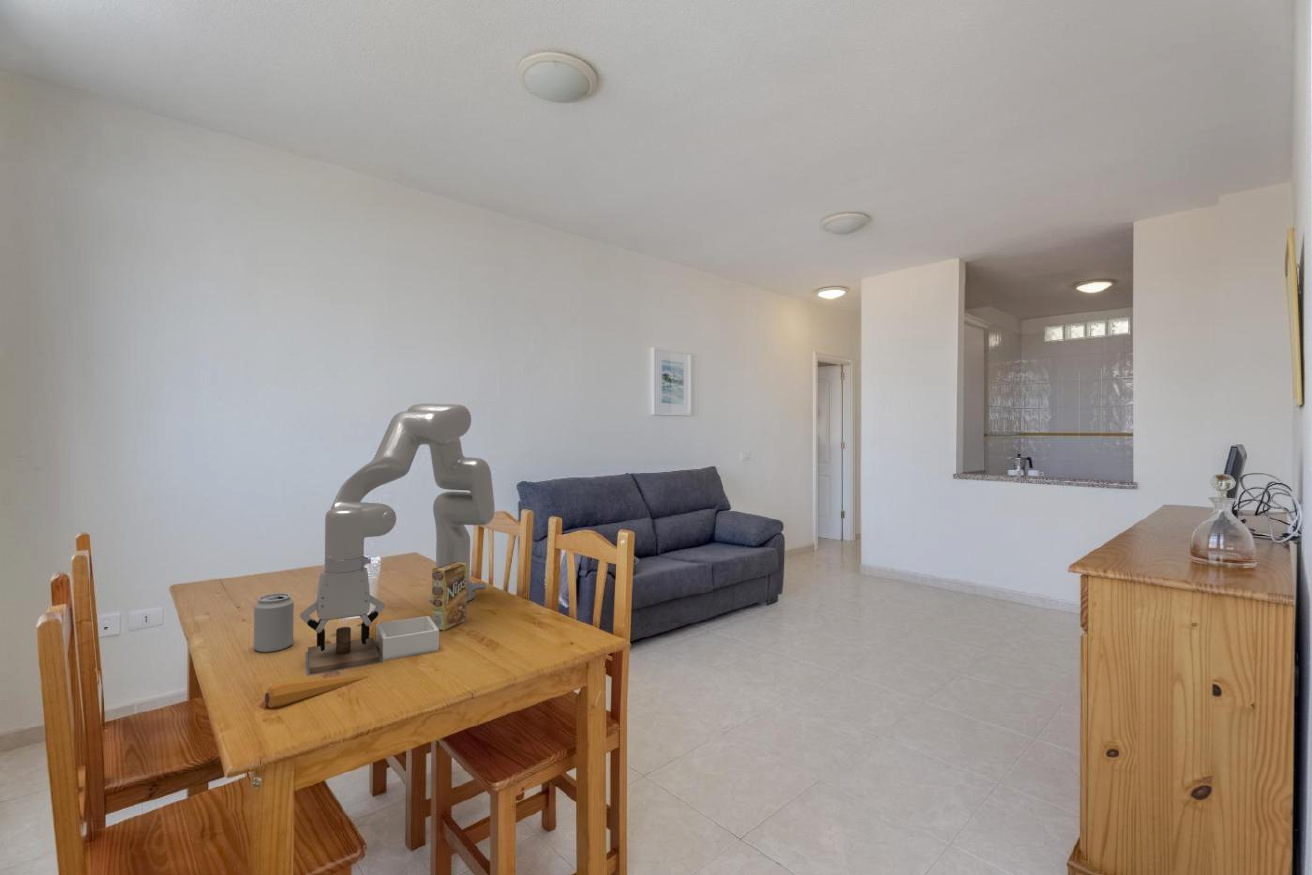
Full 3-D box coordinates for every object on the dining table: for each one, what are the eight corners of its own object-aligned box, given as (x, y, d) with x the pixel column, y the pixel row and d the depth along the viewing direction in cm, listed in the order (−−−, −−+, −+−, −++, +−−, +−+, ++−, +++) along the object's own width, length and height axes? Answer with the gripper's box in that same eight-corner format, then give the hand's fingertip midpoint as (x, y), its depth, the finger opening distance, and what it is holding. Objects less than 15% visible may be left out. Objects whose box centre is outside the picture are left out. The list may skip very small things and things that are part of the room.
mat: (374, 643, 138) (374, 641, 138) (382, 664, 126) (382, 662, 126) (305, 653, 131) (305, 652, 131) (306, 677, 119) (306, 675, 119)
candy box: (444, 631, 147) (445, 570, 147) (430, 629, 149) (431, 568, 148) (467, 620, 155) (468, 562, 155) (453, 618, 157) (454, 561, 157)
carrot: (266, 717, 105) (273, 696, 104) (260, 700, 107) (266, 679, 107) (378, 691, 120) (385, 672, 119) (370, 676, 123) (376, 658, 122)
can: (301, 645, 136) (301, 593, 136) (270, 656, 129) (270, 602, 129) (277, 640, 139) (277, 589, 138) (245, 651, 131) (246, 598, 131)
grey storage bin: (428, 636, 144) (428, 615, 143) (438, 652, 134) (439, 630, 134) (376, 644, 137) (376, 623, 137) (382, 662, 128) (383, 639, 127)
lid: (372, 642, 138) (372, 616, 138) (379, 661, 127) (380, 633, 126) (307, 652, 131) (308, 624, 131) (309, 674, 120) (309, 643, 120)
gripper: (385, 557, 136) (384, 633, 136) (297, 565, 127) (296, 647, 127) (390, 564, 130) (389, 644, 130) (297, 573, 121) (296, 659, 121)
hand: (343, 645), depth 129 cm, fingers open, 7 cm apart
